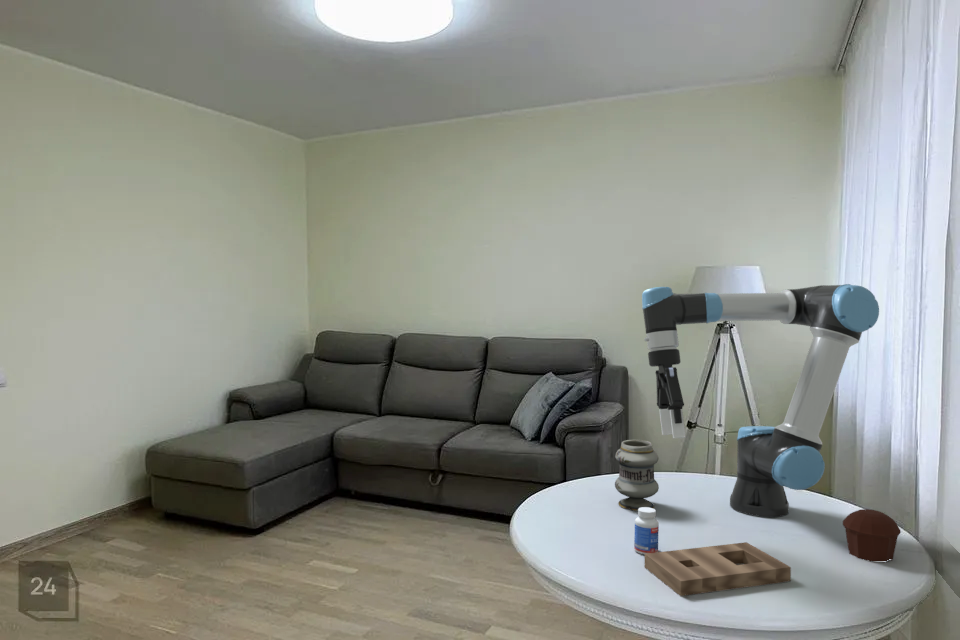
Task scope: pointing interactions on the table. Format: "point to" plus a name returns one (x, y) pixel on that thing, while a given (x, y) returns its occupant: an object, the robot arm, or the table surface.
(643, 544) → the pill bottle
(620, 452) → the apothecary jar
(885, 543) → the muffin
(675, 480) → the table surface
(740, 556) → the socket board
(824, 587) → the table surface
